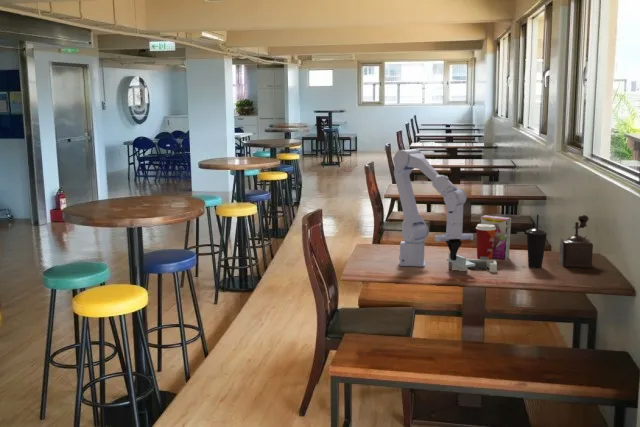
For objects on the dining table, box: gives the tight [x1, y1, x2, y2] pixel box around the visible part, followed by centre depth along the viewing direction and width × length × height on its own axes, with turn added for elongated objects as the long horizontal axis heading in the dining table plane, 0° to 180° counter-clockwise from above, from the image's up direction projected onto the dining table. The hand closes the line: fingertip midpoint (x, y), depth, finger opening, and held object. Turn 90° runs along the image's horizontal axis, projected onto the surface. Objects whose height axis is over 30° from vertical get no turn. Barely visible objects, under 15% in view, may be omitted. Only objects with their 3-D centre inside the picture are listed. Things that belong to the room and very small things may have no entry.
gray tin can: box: [469, 261, 488, 270], centre depth 250 cm, size 6×3×3 cm
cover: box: [446, 252, 475, 268], centre depth 244 cm, size 11×5×3 cm, turn 22°
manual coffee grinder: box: [558, 214, 594, 269], centre depth 257 cm, size 16×11×18 cm
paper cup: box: [475, 223, 496, 260], centre depth 262 cm, size 8×8×14 cm
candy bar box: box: [479, 214, 512, 261], centre depth 266 cm, size 11×5×16 cm, turn 56°
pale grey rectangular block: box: [447, 257, 498, 273], centre depth 250 cm, size 17×8×6 cm, turn 81°
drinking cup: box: [525, 214, 548, 269], centre depth 251 cm, size 8×8×20 cm
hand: (453, 259), depth 244 cm, fingers closed, pressing on cover
